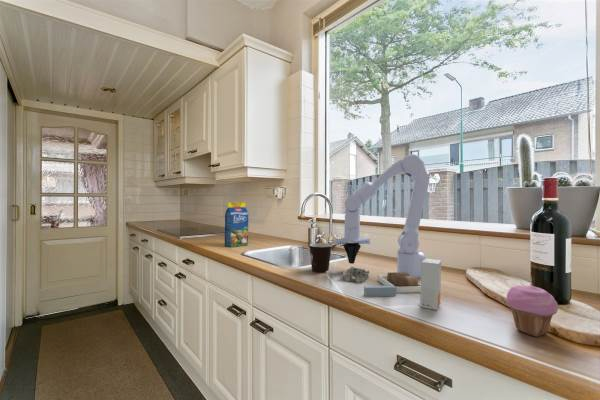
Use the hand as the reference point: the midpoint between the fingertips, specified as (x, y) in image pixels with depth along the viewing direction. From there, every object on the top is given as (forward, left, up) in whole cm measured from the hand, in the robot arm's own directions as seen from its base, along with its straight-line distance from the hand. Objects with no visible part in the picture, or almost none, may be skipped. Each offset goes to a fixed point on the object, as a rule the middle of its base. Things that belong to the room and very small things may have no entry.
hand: (351, 263), depth 115 cm
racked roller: (-10, +17, -1) cm, 20 cm away
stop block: (0, +28, -4) cm, 29 cm away
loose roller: (-10, +22, -2) cm, 24 cm away
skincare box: (-11, +36, -4) cm, 38 cm away
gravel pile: (+1, +10, -4) cm, 11 cm away
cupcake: (-24, +53, -4) cm, 58 cm away
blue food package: (+49, -66, -4) cm, 82 cm away
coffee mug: (+11, -5, -4) cm, 13 cm away
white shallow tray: (-10, +20, -4) cm, 23 cm away
